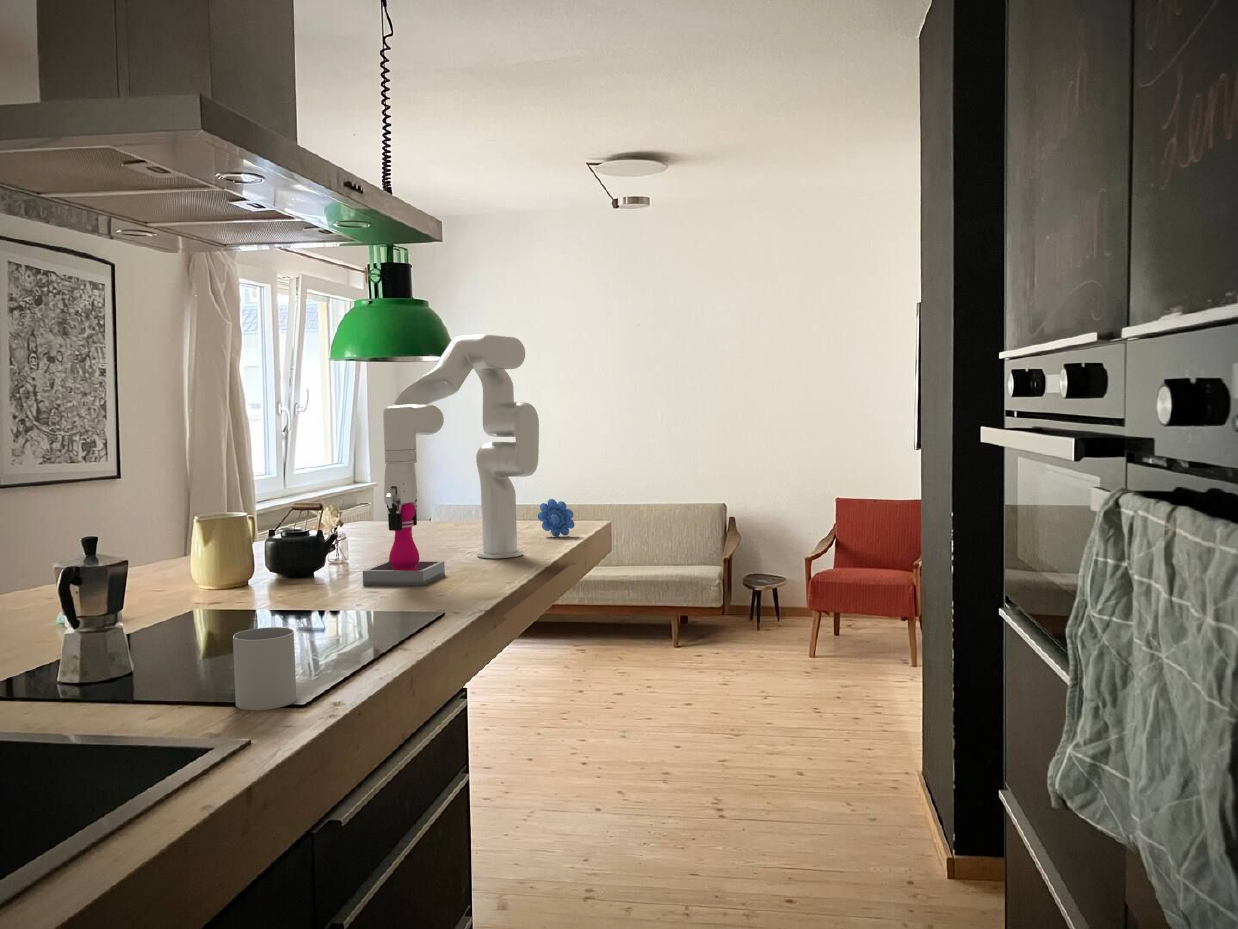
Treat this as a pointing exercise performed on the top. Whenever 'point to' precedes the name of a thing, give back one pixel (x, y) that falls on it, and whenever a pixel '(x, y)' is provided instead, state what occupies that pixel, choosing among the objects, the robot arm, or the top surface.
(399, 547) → the pepper mill
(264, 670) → the cup
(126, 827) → the top surface
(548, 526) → the blue toy flower
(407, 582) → the tray
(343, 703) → the top surface
